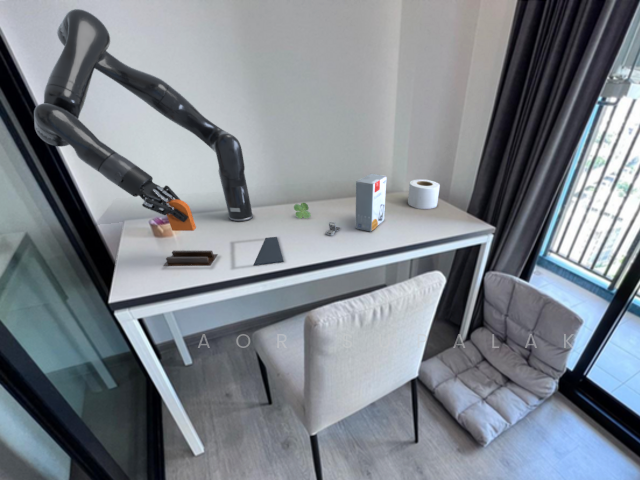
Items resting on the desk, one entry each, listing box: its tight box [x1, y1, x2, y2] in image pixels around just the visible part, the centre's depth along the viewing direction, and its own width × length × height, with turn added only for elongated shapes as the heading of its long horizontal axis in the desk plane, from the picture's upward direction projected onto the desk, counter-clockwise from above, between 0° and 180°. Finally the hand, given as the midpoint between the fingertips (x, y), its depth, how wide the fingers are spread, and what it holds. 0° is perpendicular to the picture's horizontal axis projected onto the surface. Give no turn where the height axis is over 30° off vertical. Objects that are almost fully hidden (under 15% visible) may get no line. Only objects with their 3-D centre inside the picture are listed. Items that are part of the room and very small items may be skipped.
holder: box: [162, 250, 219, 267], centre depth 106 cm, size 14×8×3 cm, turn 98°
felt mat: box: [252, 236, 285, 267], centre depth 115 cm, size 20×16×1 cm
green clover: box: [293, 202, 312, 219], centre depth 146 cm, size 7×8×6 cm
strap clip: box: [325, 221, 341, 237], centre depth 133 cm, size 8×3×4 cm, turn 165°
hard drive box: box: [355, 173, 387, 232], centre depth 138 cm, size 16×8×20 cm, turn 161°
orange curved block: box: [165, 198, 197, 232], centre depth 98 cm, size 6×2×9 cm, turn 98°
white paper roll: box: [407, 179, 441, 210], centre depth 168 cm, size 16×15×11 cm
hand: (187, 217), depth 98 cm, fingers closed on orange curved block, 2 cm apart
